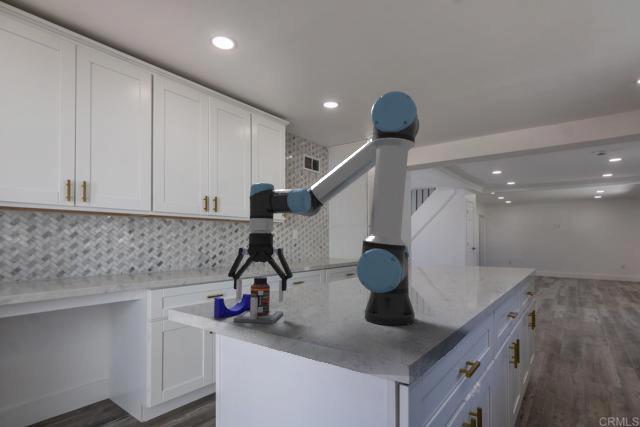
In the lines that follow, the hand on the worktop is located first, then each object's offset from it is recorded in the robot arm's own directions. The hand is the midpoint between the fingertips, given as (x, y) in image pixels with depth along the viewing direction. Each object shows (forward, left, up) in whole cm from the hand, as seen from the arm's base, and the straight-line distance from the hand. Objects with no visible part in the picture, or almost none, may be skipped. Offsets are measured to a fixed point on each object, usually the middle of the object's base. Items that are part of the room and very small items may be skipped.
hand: (259, 300), depth 107 cm
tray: (0, 0, -5) cm, 5 cm away
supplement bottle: (0, 0, -4) cm, 4 cm away
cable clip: (+10, -4, -6) cm, 12 cm away
